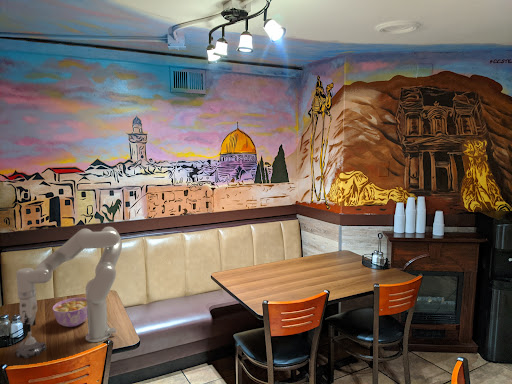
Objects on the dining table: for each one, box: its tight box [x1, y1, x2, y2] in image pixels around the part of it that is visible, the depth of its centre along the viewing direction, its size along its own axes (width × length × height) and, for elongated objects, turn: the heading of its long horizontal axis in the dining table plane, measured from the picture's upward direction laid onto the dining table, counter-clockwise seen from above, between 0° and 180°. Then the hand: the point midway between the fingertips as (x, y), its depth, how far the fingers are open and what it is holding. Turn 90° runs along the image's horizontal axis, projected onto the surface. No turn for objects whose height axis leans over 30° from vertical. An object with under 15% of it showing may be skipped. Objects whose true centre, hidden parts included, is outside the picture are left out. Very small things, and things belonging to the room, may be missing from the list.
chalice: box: [24, 306, 37, 345], centre depth 187 cm, size 7×7×18 cm
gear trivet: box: [16, 341, 47, 359], centre depth 188 cm, size 13×13×2 cm
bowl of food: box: [52, 297, 88, 328], centre depth 217 cm, size 20×20×12 cm
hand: (29, 328), depth 187 cm, fingers closed on chalice, 5 cm apart
